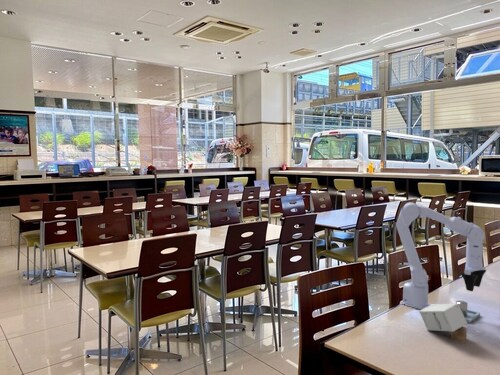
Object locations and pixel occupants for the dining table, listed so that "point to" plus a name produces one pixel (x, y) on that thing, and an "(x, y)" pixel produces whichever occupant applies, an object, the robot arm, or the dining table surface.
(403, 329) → the dining table surface
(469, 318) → the tray
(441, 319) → the supplement box
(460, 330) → the walnut block
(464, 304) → the silver cylindrical canister
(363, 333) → the dining table surface
